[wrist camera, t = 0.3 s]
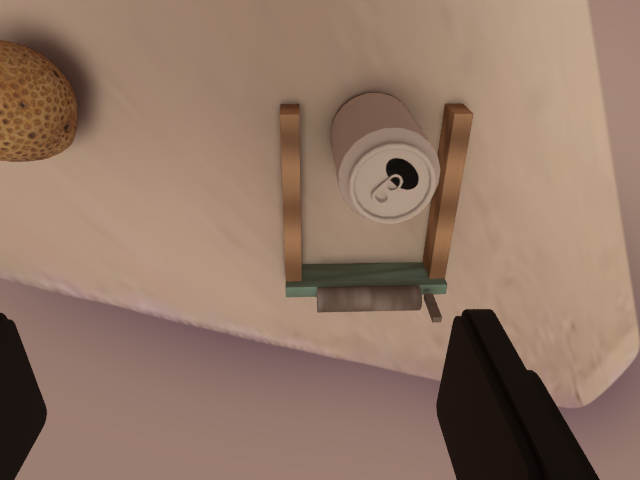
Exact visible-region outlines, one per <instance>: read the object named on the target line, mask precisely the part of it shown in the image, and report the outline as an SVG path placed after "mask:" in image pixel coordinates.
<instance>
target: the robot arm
mask: <svg viewBox="0 0 640 480" xmlns="http://www.w3.org/2000/svg"><path fill="white" fill-rule="evenodd" d="M46 415H47V410H46V406H45V403H44V400H43V397H42V395H41V392H40V390H39V387H38V384H37V382H36V379H35V376H34V373H33V371H32V368H31V365H30V363H29V360H28V357H27V355H26V352H25V349H24V347H23V344H22V341H21V339H20V336H19V333H18V331H17V328H16V325H15V323H14V322H13V321H12V320H8V319H7V317H6V316H5V315H4V314H3V313H0V480H14V479H15V477H16V476H17V474H18V472H19V470H20V468H21V466H22V465H23V463H24V461H25V459H26V457H27V455H28V454H29V452H30V450H31V448H32V446H33V444H34V443H35V441H36V439H37V437H38V435H39V434H40V432H41V430H42V428H43V426H44V424H45V421H46ZM437 416H438V420H439V423H440V427H441V430H442V433H443V436H444V440H445V443H446V446H447V449H448V453H449V456H450V459H451V462H452V466H453V469H454V472H455V475H456V479H457V480H600V479H599V478H598V476H597V474H596V473H595V471H594V469H593V467H592V466H591V464H590V463H589V461H588V459H587V457H586V455H585V454H584V452H583V450H582V449H581V447H580V445H579V443H578V442H577V440H576V438H575V437H574V435H573V433H572V432H571V430H570V428H569V427H568V425H567V423H566V421H565V420H564V418H563V416H562V414H561V413H560V411H559V409H558V408H557V406H556V404H555V403H554V401H553V399H552V397H551V396H550V394H549V392H548V391H547V389H546V387H545V385H544V384H543V382H542V380H541V379H540V377H539V376H538V375H537V373H535V372H534V371H532V370H527V369H526V368H525V366H524V364H523V362H522V361H521V359H520V357H519V355H518V353H517V352H516V350H515V348H514V346H513V345H512V343H511V341H510V339H509V338H508V336H507V334H506V332H505V330H504V329H503V327H502V325H501V323H500V322H499V320H498V318H497V316H496V314H495V313H494V312H493V310H491V309H466V310H464V311H463V312H462V315H461V316H456V317H455V318H454V321H453V325H452V330H451V335H450V340H449V345H448V349H447V354H446V359H445V364H444V369H443V374H442V379H441V384H440V389H439V393H438V398H437Z"/></svg>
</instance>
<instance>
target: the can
mask: <svg viewBox="0 0 640 480" xmlns="http://www.w3.org/2000/svg"><path fill="white" fill-rule="evenodd" d="M331 146H332V151H333V157H334V163H335V169H336V174H337V180H338V186H339V189H340V192H341V195H342V198H343V200H344V201H345V202H346V204H347V205H348V206H349V207H350V209H351V210H352V211H354V212H355V213H357V214H358V215H360V216H361V217H363V218H366V219H369V220H370V221H374V222H377V223H381V224H397V223H400V222H403V221H407V220H409V219H411V218H413V217H414V216H416V215H417V214H419V213H420V212H421V211H422V210H423V209H424V208H425V207H426V206H427V205H428V204H429V202H430V200H431V198H432V196H433V194H434V192H435V190H436V188H437V186H438V183H439V176H440V165H439V160H438V155H437V153H436V152H435V150H434V148H433V147H432V145H431V144H430V142H429V141H428V139H427V138H426V136H425V135H424V133H423V132H422V130H421V129H420V127H419V126H418V125H417V123H416V122H415V120H414V119H413V117H412V116H411V114H410V113H409V111H408V110H407V108H406V107H405V105H404V104H402V103H401V102H400V101H398V100H397V99H396V98H395V97H392V96H389V95H386V94H383V93H366V94H363V95H360V96H357V97H355V98H353V99H352V100H350V101H349V102H348V103H346V104H345V105H343V107H342V108H341V109H340V111H339V112H338V113H337V115H336V116H335V119H334V122H333V124H332V127H331Z"/></svg>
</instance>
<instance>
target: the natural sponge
mask: <svg viewBox="0 0 640 480" xmlns="http://www.w3.org/2000/svg"><path fill="white" fill-rule="evenodd" d="M76 129H77V102H76V98H75V94H74V92H73V90H72V87H71V85H70V83H69V82H68V81H67V79H66V78H65V76H64V75H63V74H62V73H61V72H60V71H59V69H58V68H57V67H56V66H55V65H54V64H53V63H52V62H50V61H49V60H48V59H47V58H45V57H44V56H43V55H41V54H40V53H39V52H37V51H35V50H32V49H30V48H28V47H25V46H22V45H19V44H16V43H12V42H8V41H2V40H0V160H2V161H11V162H21V161H35V160H43V159H47V158H50V157H52V156H55V155H57V154H59V153H61V152H62V151H64V150H65V149H67V148H68V147H69V146H70V145H71V144H72V142H73V140H74V137H75V134H76Z"/></svg>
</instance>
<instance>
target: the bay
mask: <svg viewBox="0 0 640 480" xmlns="http://www.w3.org/2000/svg"><path fill="white" fill-rule="evenodd" d="M472 119H473V113H472V112H471V111H470V110H469V109H468V108H467V107H466V106H465V105H464V104H445V108H444V115H443V123H442V130H441V137H440V144H439V151H438V160H439V165H440V176H439V183H438V186H437V188H436V190H435V192H434V194H433V196H432V200H431V207H430V214H429V221H428V228H427V235H426V242H425V249H424V256H423V263H369V264H309V265H301V200H300V131H299V104H287V105H281V108H280V133H281V161H282V189H283V217H284V245H285V273H286V297H317V312H358V311H406V310H420V309H421V306H422V295H424V300H425V303H426V306H427V308H428V311H429V314H430V317H431V319H432V322H441V320H442V316H441V313H440V311H439V308H438V306H437V303H436V301H435V298H434V296H433V294H446V289H447V283H446V281H445V274H446V268H447V263H448V257H449V251H450V245H451V240H452V234H453V228H454V222H455V217H456V211H457V205H458V199H459V194H460V188H461V182H462V176H463V171H464V165H465V159H466V154H467V148H468V142H469V136H470V131H471V125H472Z"/></svg>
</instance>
